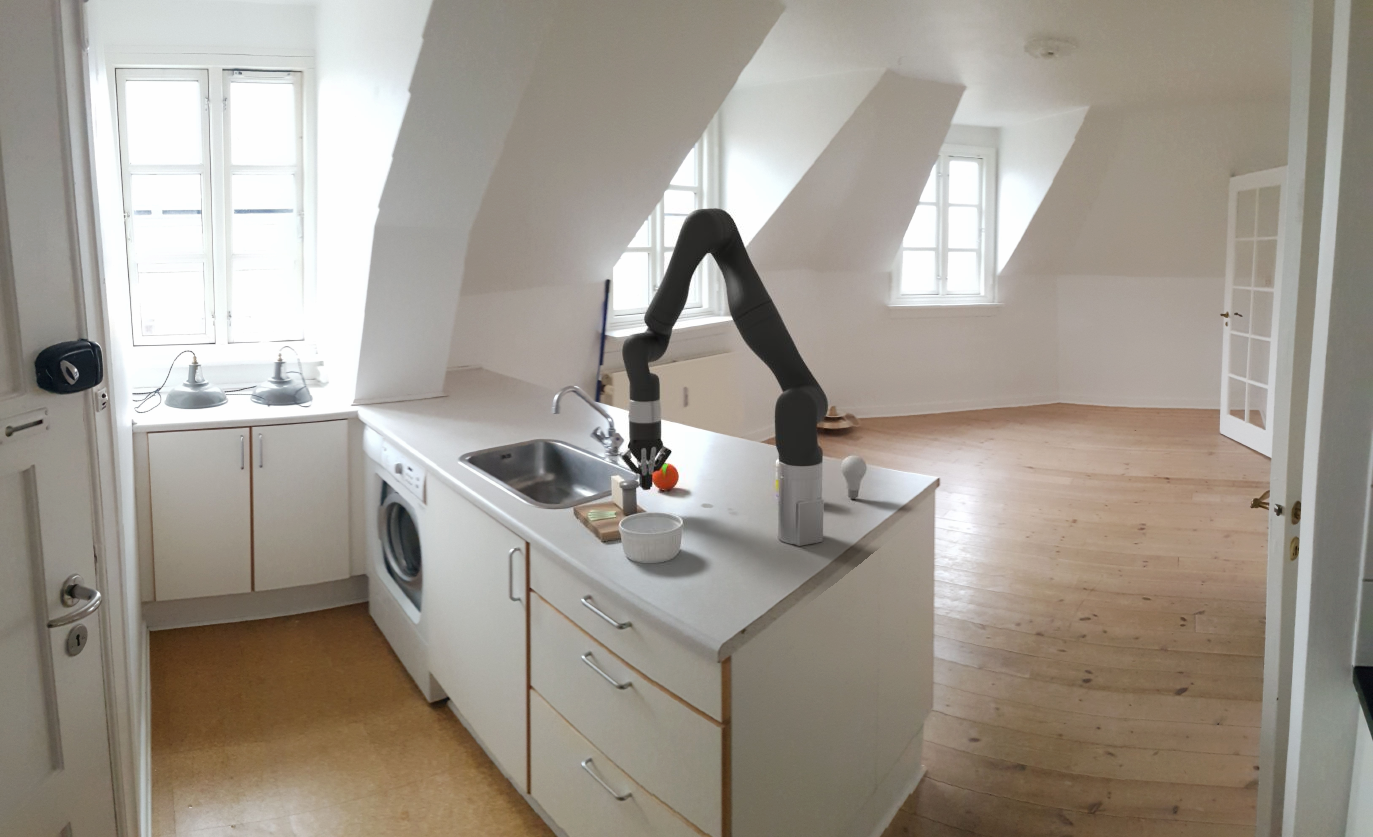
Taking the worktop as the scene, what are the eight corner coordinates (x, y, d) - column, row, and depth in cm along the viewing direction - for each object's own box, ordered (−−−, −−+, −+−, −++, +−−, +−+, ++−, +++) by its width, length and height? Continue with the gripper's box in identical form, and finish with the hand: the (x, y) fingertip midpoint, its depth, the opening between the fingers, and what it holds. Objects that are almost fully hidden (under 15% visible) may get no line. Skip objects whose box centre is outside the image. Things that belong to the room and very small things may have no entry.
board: (661, 531, 191) (661, 522, 191) (601, 542, 186) (601, 532, 185) (629, 506, 209) (629, 497, 208) (573, 514, 203) (573, 506, 203)
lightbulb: (855, 504, 208) (856, 460, 205) (835, 498, 212) (836, 455, 210) (870, 499, 212) (872, 455, 209) (850, 493, 216) (851, 451, 214)
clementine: (678, 494, 217) (678, 467, 216) (651, 495, 218) (650, 467, 216) (679, 485, 225) (678, 459, 224) (652, 485, 225) (652, 459, 224)
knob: (642, 514, 196) (641, 484, 194) (624, 517, 194) (623, 486, 193) (624, 499, 206) (623, 471, 205) (606, 502, 205) (605, 473, 203)
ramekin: (632, 570, 170) (631, 537, 169) (610, 548, 182) (609, 517, 180) (693, 559, 175) (693, 527, 174) (669, 538, 187) (668, 508, 186)
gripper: (624, 424, 195) (625, 497, 199) (677, 418, 201) (677, 489, 205) (612, 417, 202) (614, 488, 206) (664, 412, 207) (665, 481, 211)
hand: (646, 489), depth 205 cm, fingers closed
